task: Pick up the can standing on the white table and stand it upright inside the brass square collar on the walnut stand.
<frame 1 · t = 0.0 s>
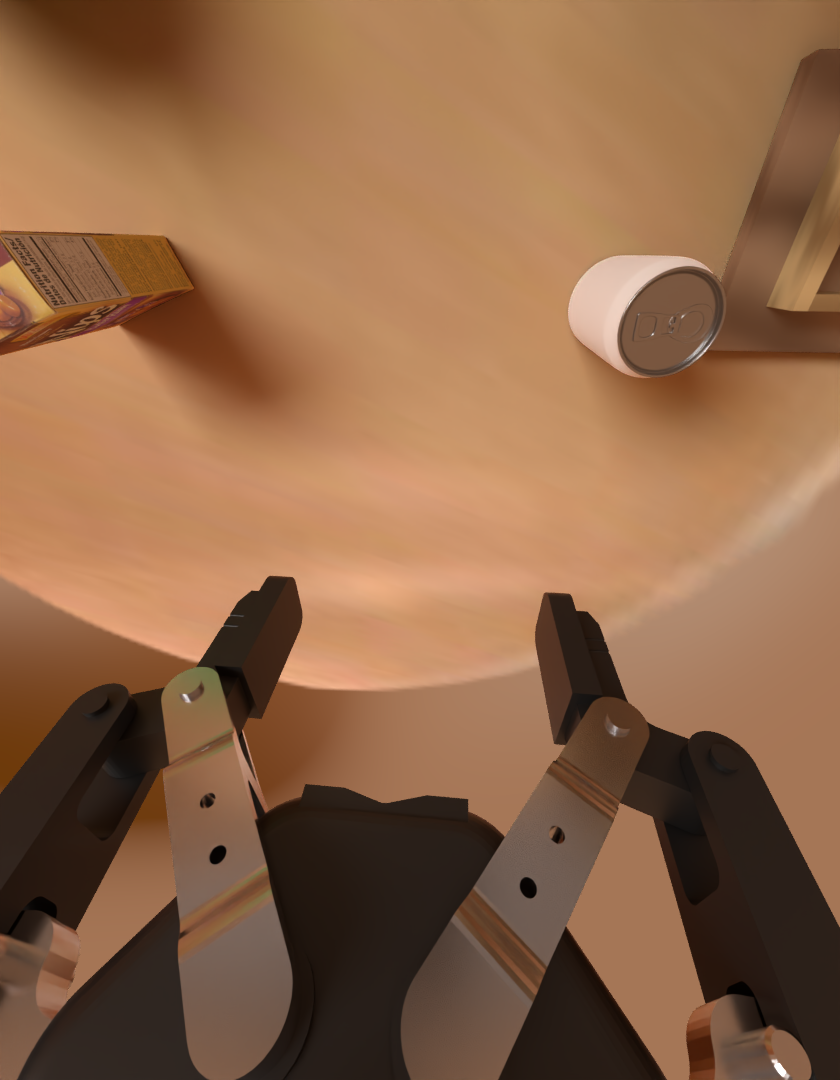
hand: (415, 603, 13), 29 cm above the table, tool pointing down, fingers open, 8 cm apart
can: (607, 303, 33), on the table
candy box: (144, 284, 35), on the table
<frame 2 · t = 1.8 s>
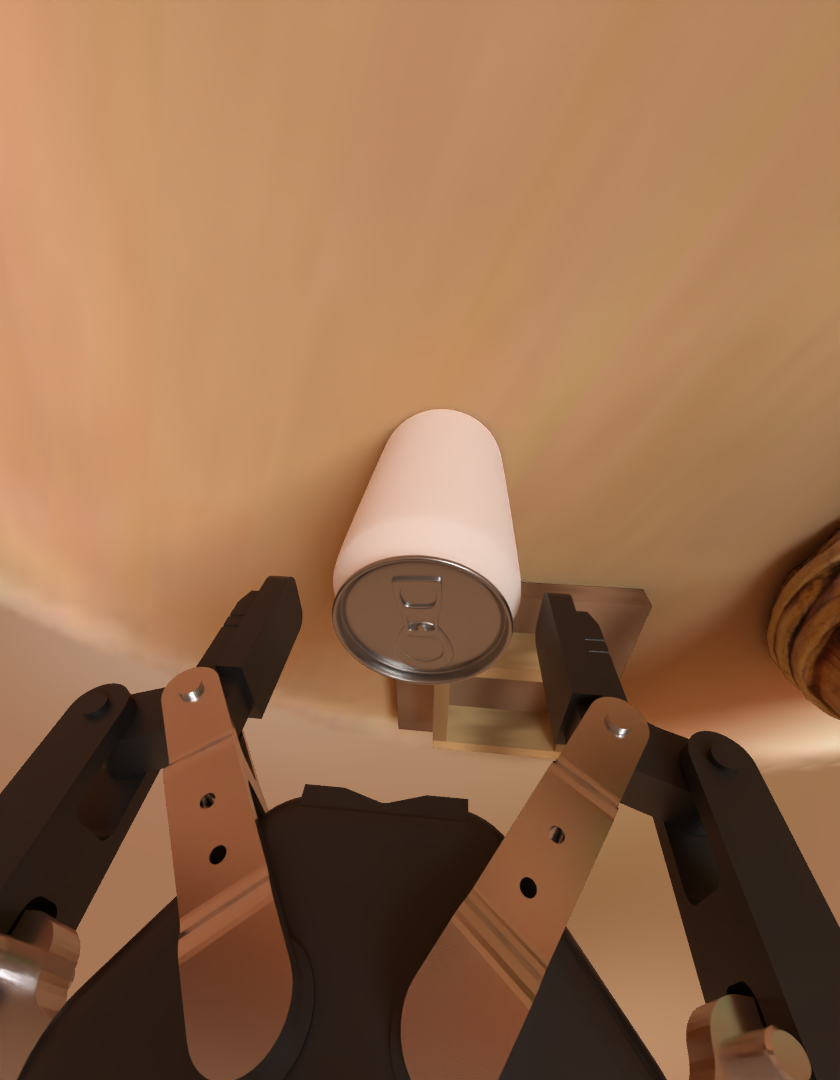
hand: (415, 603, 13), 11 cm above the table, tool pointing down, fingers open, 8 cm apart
can: (441, 463, 23), on the table
socket stand: (501, 661, 31), on the table
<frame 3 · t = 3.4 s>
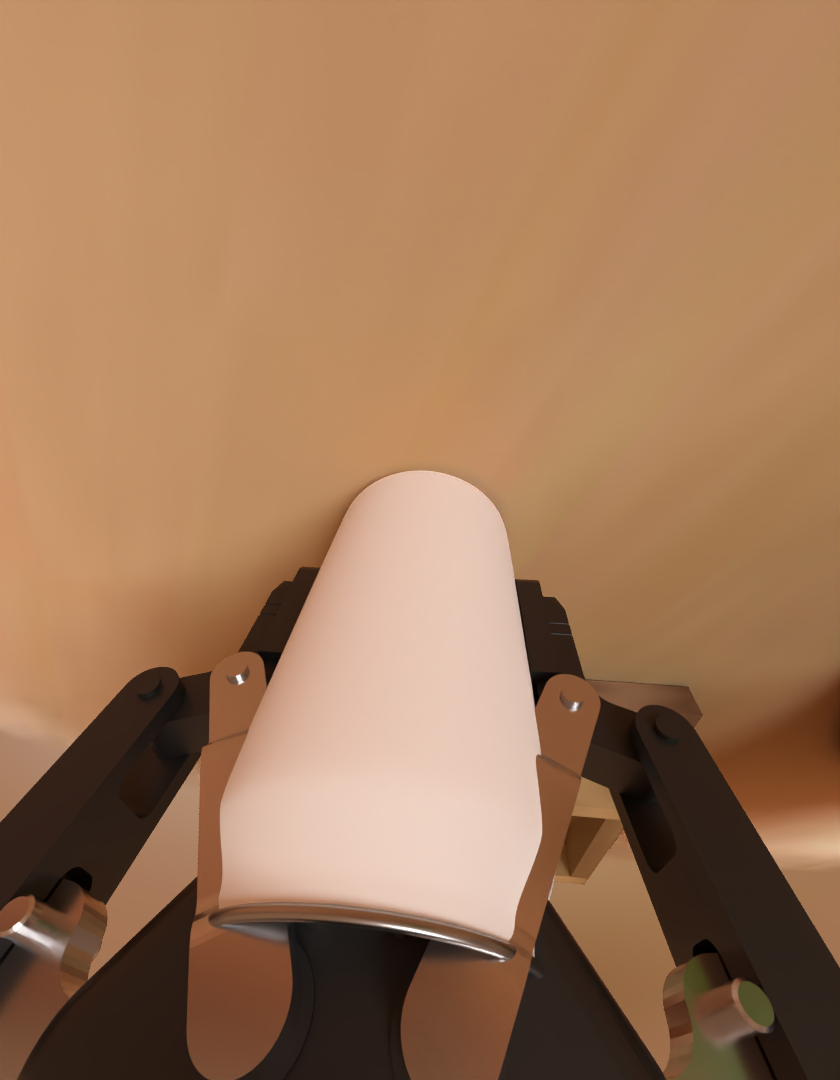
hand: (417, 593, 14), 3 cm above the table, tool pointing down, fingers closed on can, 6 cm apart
can: (424, 536, 16), on the table, touching gripper
socket stand: (503, 757, 25), on the table
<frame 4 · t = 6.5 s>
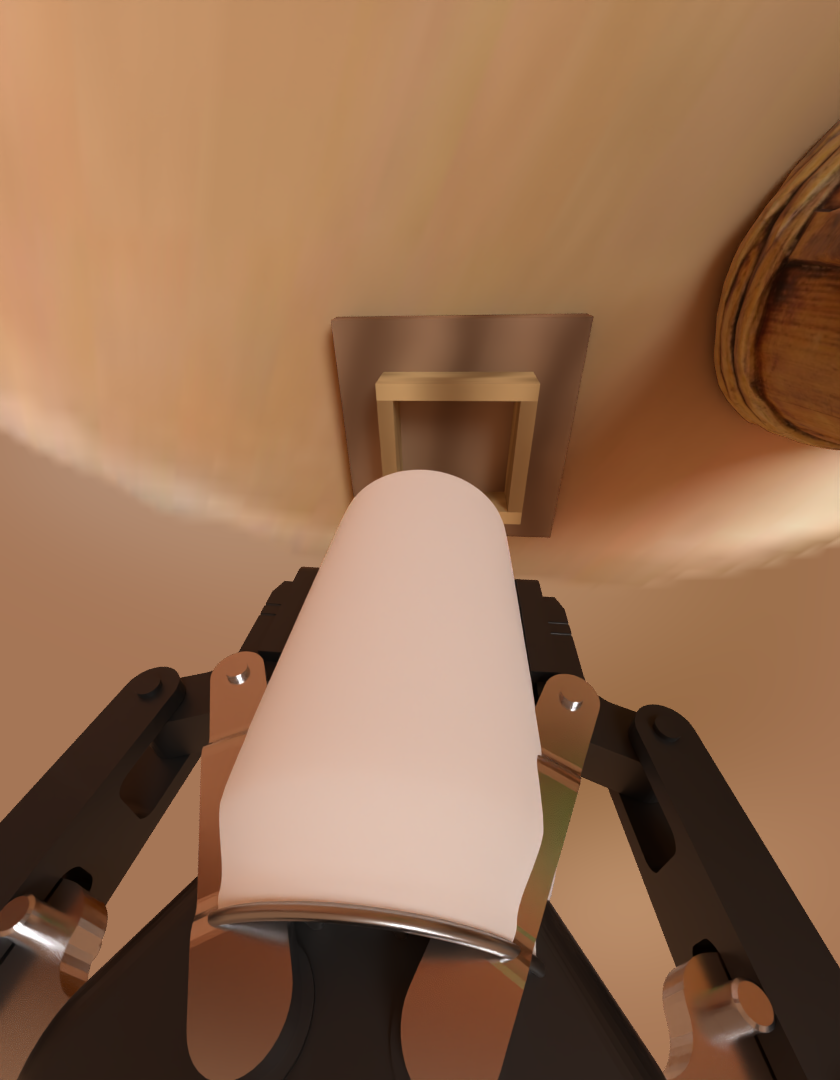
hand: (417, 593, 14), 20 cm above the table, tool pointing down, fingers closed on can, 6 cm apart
can: (423, 536, 16), point 16 cm above the table, touching gripper
socket stand: (455, 435, 31), on the table
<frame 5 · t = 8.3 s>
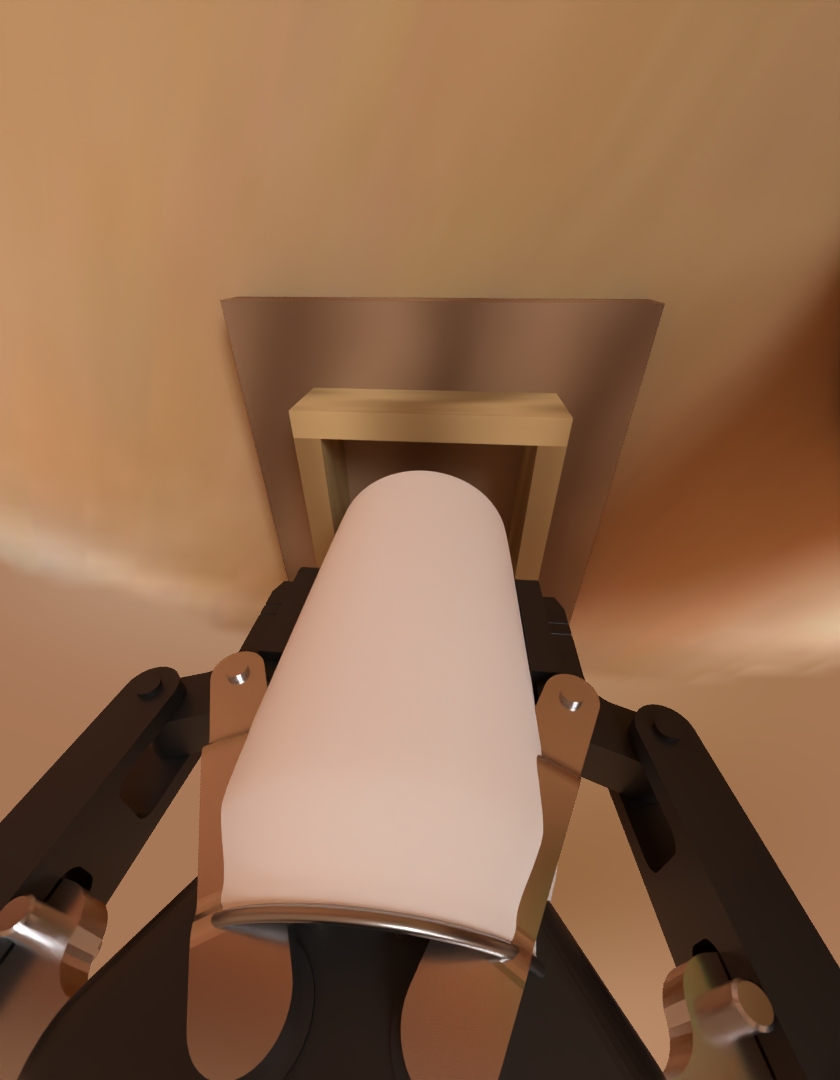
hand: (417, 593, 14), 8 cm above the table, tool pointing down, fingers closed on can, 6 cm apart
can: (423, 536, 16), point 5 cm above the table, touching gripper
socket stand: (432, 482, 21), on the table
when the fingers open (6 cm above the table, at t = 9.7 s): can drops 1 cm, resting on socket stand.
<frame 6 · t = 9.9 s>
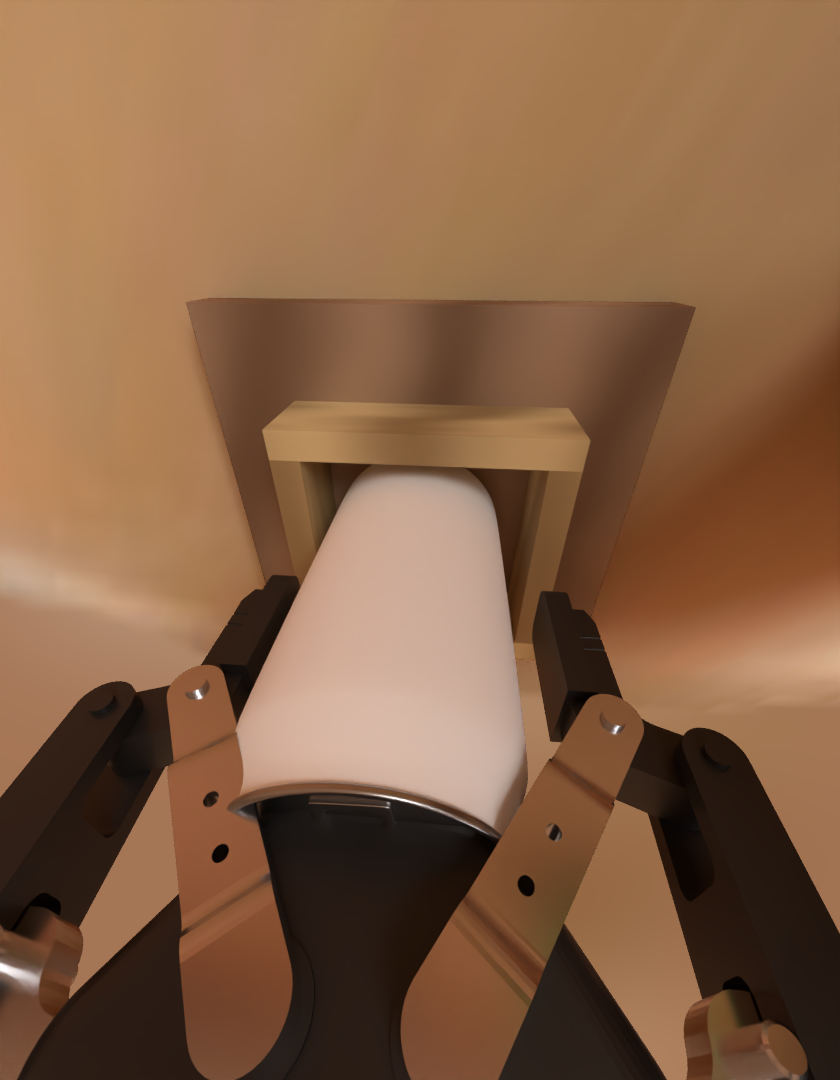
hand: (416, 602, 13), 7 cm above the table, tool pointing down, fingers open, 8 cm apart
can: (419, 517, 18), point 1 cm above the table, touching socket stand
socket stand: (429, 502, 19), on the table
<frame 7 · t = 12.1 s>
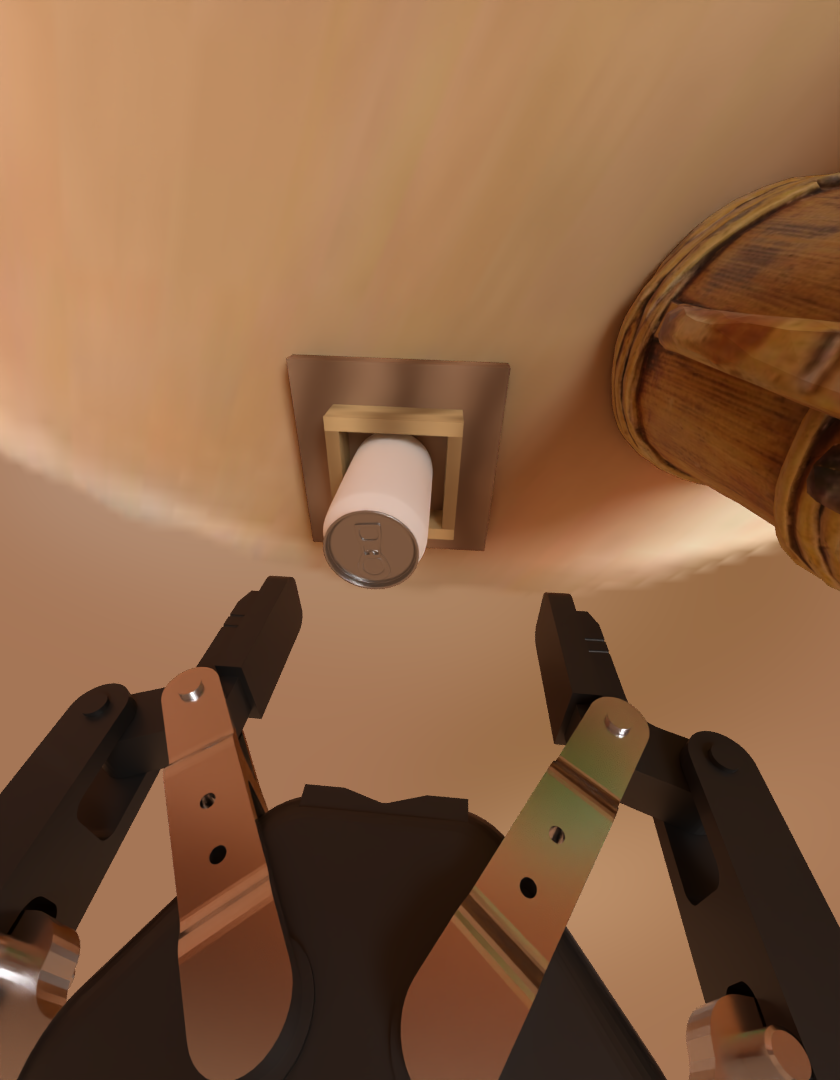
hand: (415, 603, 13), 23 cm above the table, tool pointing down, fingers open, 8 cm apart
can: (394, 465, 34), point 1 cm above the table, touching socket stand
tankard: (712, 340, 29), on the table
socket stand: (399, 459, 35), on the table
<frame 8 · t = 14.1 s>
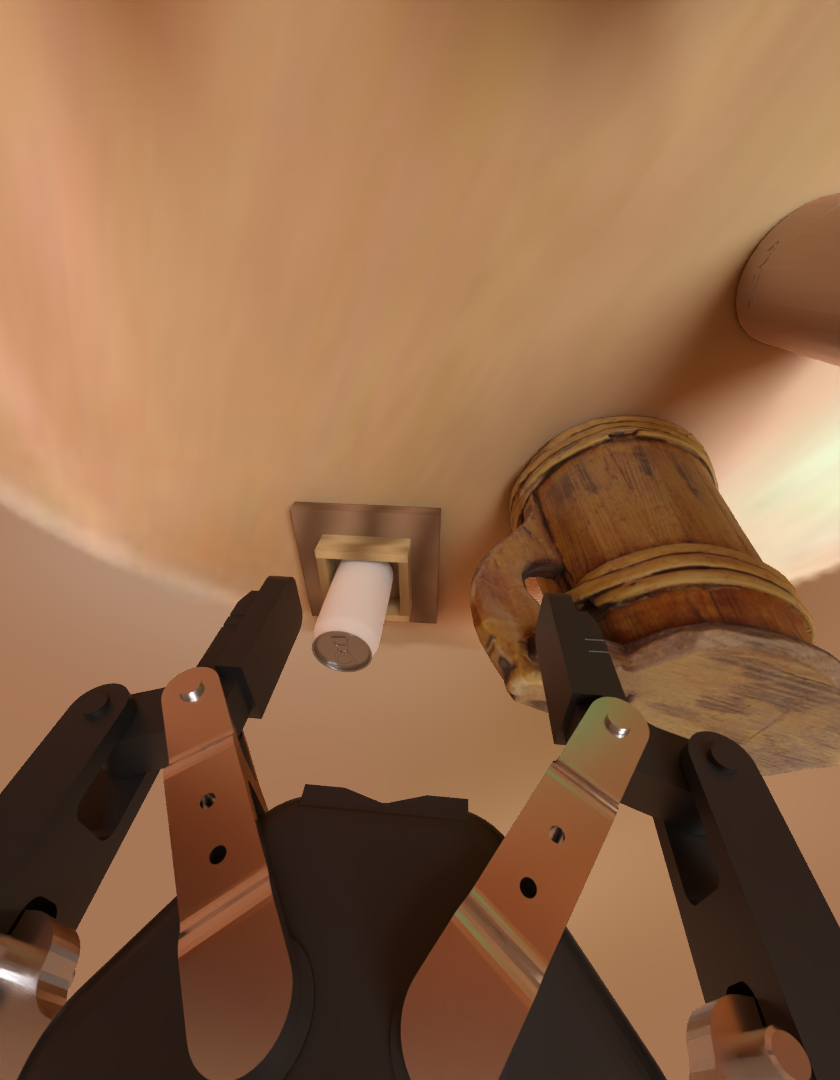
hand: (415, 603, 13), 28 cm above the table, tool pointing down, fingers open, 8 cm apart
can: (366, 569, 48), point 1 cm above the table, touching socket stand
tankard: (578, 496, 42), on the table
socket stand: (371, 563, 49), on the table
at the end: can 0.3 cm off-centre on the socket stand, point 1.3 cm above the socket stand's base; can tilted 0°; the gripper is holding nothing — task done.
